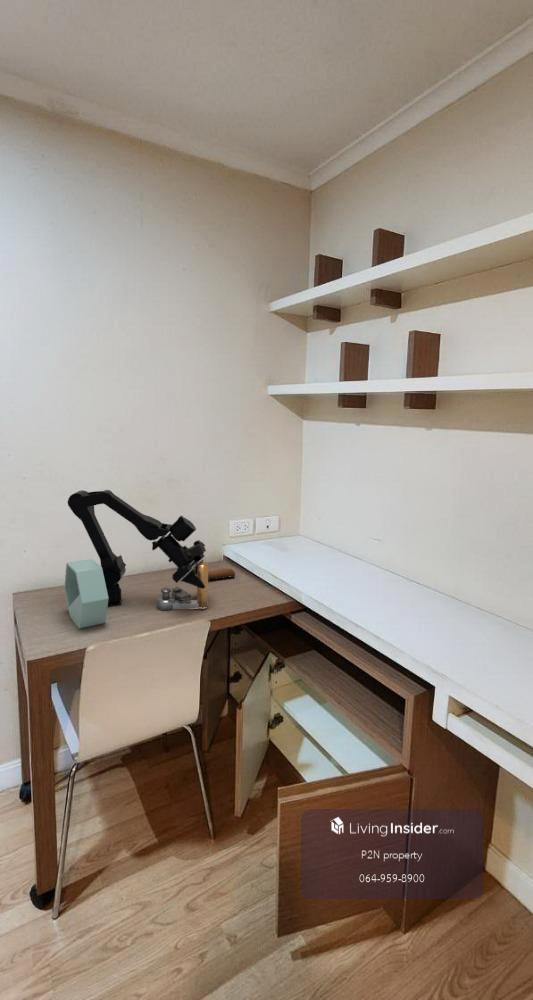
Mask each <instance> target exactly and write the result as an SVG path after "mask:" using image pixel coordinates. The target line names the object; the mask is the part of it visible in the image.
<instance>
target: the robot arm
mask: <svg viewBox="0 0 533 1000" xmlns="http://www.w3.org/2000/svg"><path fill="white" fill-rule="evenodd" d="M67 505H68V507H69V509H70V510H71V512H72V513H73V514H74V515H75V516H76V517H77V518H78V519H79V520H80V521H81V523H82V525H83V527H84V529H85V531H86V533H87V535H88V537H89V539H90V541H91V543H92V545H93V547H94V549H95V551H96V554H97V555H98V557H99V561H100V566H101V567H102V570H103V574H104V579H105V584H106V588H107V593H108V598H109V599H108V606H107V607H110V606H111V607H112V606H117V605H121V604H122V602H121V601H122V588H121V587H120V584H119V582H120V581H121V580H122V578H123V576H124V575H125V574H126V572H127V571H126V569H127V568H126V566H127V564H126V563H125V562H124V559H123V556H122V554H120V555H118V556H117V555H116V554H115V553H114V552H113V550H112V548H111V546H110V543H109V541H108V540H107V537H106V536H105V533H104V530H103V529H102V527H101V524H100V523H99V521H98V519H97V517H96V514H95V506H98V505H105V506H106V507H108V508H109V509H110V510H112V511H113V512H115V513H116V514H117V515H119V516H121V517H122V518H123V519H125V520H127V521H128V522H129V523H131V524H132V525H133V526H134V527H135V528H136V529H137V531H138V532H139V533H140V534H141V535H142V536H143V537H144V539H146V540H148V541H152V542H151V544H152V549H151V550H152V551H155V550H157V549H158V548H159V550H161V552H163V553H164V555H165V556H166V557H167V558H168V562H169V563H173V565H175V566H176V567H177V568H176V571H175V572H174V573H172V576H171V577H172V580H173V581H174V582H175V583H176V584H177V583H178V582H183V583H185V584H189V585H192V586H195V587H199V588H202V589H204V588H205V585H204V584H203V582H202V581H201V580H200V578H199V577H198V576H197V564H198V563H202V562H204V559H203V558H205V555H204V554H205V552H207V550H206V548H205V547H206V544H205V543H204V542H203V541H200V540H199V539H198V540H195V541H194V542H193V545H191V546H190V547H187V546H186V545H183V546H182V545H181V544H180V542H181V541H182V542H185V541H186V540H187V539H188V538H189V537H190V536H191V535H193V533H195V531H196V530H197V528H196V526H195V524H193V522H191V520H189V519H188V518H186V517H185V516H183V515H180V516H179V517H178V518H177V520H176V521H174V522H173V523H172V524H171V523H170V524H168V523H162V522H161V521H160V520H158V519H156V518H155V517H152V516H150V515H146V514H144V513H141V512H140V511H139V510H137V509H136V508H134V506H132V505H131V504H128V503H127V502H126V501H125V500H124V499H121V497H119V496H117V495H115V493H113V492H112V491H111V490H110V489H105V490H98V491H97V490H96V491H86V490H78V491H76V492H74V493H73V494H70V495H69V497H68V499H67ZM210 582H211V580H209V578H208V584H209V583H210Z"/></svg>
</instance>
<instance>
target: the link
mask: <svg viewBox="0 0 533 1000" xmlns="http://www.w3.org/2000/svg"><path fill="white" fill-rule="evenodd" d="M208 570H209V563H208V562H204V561H203V562H202V563H198V564H197V576H198V577H199V578H200V580H201V581H202V582H203V584H204V585H205V588H204V589H202V588H199V587H197V586H196V587H197V588H196V591H197V592H196V599H195V600H194V599H183V600H175V597H173V596H172V595H170V599H168V600H163V599H162V595H161V596H158V597H157V598H156V609H157V610H160V611H163V610H167V611H172V610H183V609H182V608H199V607H202V608H203V607H207V606H208V607H209V605H208V604H209V597H208V596H209V595H208V594H209V583H208ZM171 609H172V610H171Z"/></svg>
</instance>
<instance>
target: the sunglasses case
mask: <svg viewBox="0 0 533 1000" xmlns="http://www.w3.org/2000/svg"><path fill="white" fill-rule="evenodd" d="M229 576H235V577H236V572H235V570H234V569H233V568H227V567H224V568H223V567H220V568H214V569H208V578H209V580H210V579H215V580H217V579H216V578H223V577H229ZM223 579H224V578H223ZM210 581H211V580H210Z"/></svg>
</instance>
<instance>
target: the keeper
mask: <svg viewBox="0 0 533 1000" xmlns="http://www.w3.org/2000/svg"><path fill="white" fill-rule="evenodd" d="M171 596H173V597H175V600H188V599H191V598H192V594H191V593H189V592H188V591H187V590H184V589H182V588H181V587H178V586H177V587H172V588H171Z"/></svg>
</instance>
